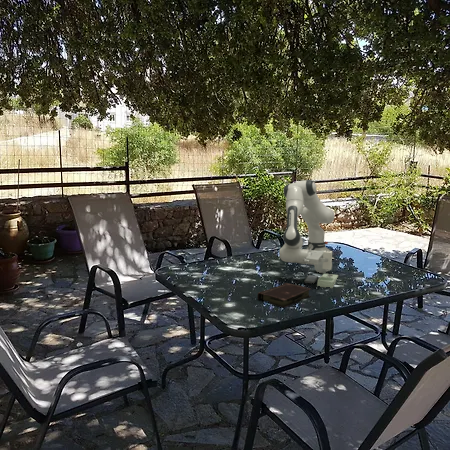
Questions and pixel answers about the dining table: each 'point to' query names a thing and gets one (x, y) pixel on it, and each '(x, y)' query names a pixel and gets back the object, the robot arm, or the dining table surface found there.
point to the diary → (284, 294)
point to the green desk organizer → (327, 280)
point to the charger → (329, 256)
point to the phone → (311, 279)
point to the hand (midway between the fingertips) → (329, 259)
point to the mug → (321, 267)
